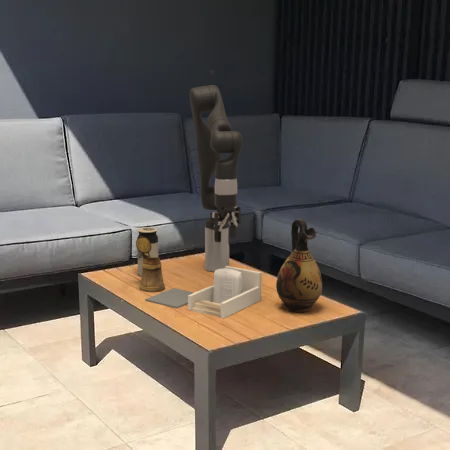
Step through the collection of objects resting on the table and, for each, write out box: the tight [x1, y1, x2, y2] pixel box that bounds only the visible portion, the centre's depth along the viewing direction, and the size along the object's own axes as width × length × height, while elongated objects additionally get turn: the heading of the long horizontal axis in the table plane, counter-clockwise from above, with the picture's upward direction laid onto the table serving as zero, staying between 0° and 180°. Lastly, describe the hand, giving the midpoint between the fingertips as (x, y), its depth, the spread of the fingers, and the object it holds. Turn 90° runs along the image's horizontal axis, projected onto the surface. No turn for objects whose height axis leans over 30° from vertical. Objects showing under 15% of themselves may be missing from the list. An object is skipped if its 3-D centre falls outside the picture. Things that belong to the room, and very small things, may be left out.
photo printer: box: [212, 268, 243, 304], centre depth 244 cm, size 10×4×12 cm, turn 69°
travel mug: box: [136, 227, 159, 277], centre depth 277 cm, size 8×8×18 cm
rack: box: [187, 265, 263, 319], centre depth 243 cm, size 23×14×10 cm, turn 145°
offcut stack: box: [191, 300, 221, 318], centre depth 237 cm, size 5×11×3 cm, turn 59°
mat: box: [144, 287, 195, 309], centre depth 250 cm, size 16×14×1 cm
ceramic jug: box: [275, 218, 323, 313], centre depth 239 cm, size 17×15×30 cm
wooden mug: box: [135, 236, 166, 293], centre depth 261 cm, size 9×14×18 cm, turn 33°
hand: (225, 239), depth 240 cm, fingers open, 8 cm apart
